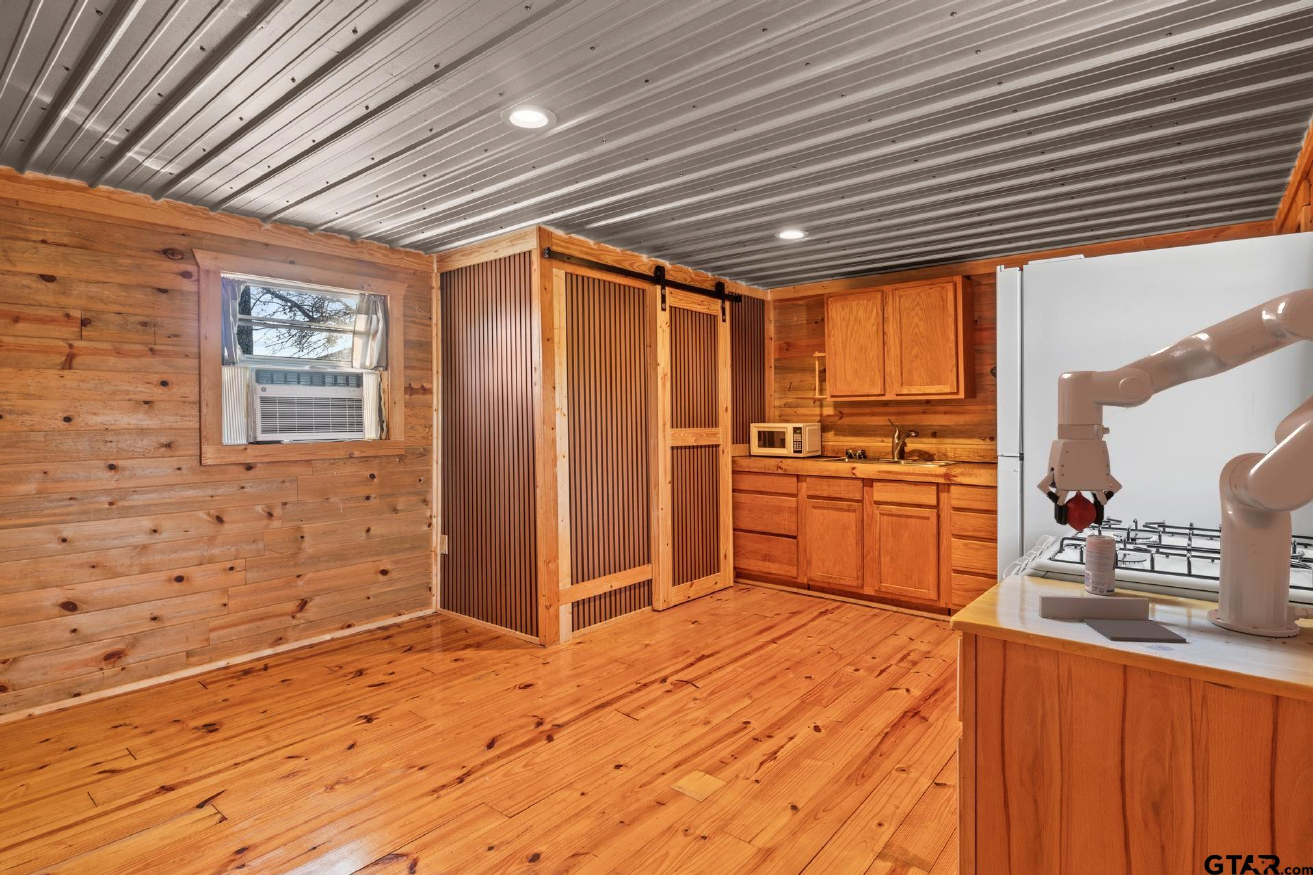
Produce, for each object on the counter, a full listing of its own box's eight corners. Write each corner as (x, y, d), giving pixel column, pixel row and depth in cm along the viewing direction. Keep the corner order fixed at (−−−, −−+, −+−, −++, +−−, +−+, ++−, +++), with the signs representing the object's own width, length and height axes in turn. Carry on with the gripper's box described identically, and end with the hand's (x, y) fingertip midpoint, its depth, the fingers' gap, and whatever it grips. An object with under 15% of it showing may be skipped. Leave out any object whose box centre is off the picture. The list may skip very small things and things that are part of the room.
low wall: (1145, 618, 127) (1146, 597, 126) (1148, 620, 126) (1149, 599, 125) (1038, 615, 129) (1039, 595, 129) (1041, 617, 128) (1041, 596, 128)
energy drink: (1113, 590, 145) (1115, 536, 144) (1115, 597, 140) (1116, 540, 140) (1084, 587, 148) (1085, 533, 147) (1084, 593, 143) (1086, 538, 142)
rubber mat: (1150, 622, 124) (1150, 619, 124) (1186, 642, 114) (1186, 639, 114) (1081, 621, 126) (1081, 617, 126) (1110, 640, 116) (1110, 636, 116)
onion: (1101, 534, 130) (1101, 493, 129) (1068, 533, 131) (1069, 493, 131) (1088, 528, 136) (1088, 489, 135) (1057, 528, 137) (1057, 489, 136)
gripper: (1116, 432, 135) (1115, 520, 136) (1025, 433, 137) (1025, 520, 138) (1137, 433, 127) (1136, 527, 128) (1041, 435, 130) (1041, 527, 131)
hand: (1078, 523), depth 133 cm, fingers closed on onion, 5 cm apart
